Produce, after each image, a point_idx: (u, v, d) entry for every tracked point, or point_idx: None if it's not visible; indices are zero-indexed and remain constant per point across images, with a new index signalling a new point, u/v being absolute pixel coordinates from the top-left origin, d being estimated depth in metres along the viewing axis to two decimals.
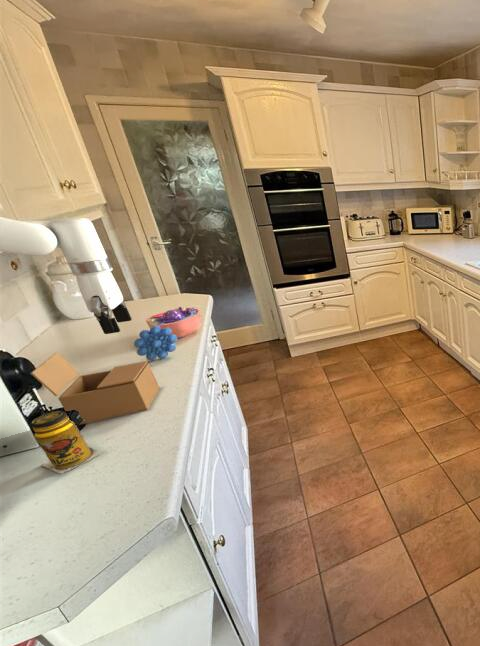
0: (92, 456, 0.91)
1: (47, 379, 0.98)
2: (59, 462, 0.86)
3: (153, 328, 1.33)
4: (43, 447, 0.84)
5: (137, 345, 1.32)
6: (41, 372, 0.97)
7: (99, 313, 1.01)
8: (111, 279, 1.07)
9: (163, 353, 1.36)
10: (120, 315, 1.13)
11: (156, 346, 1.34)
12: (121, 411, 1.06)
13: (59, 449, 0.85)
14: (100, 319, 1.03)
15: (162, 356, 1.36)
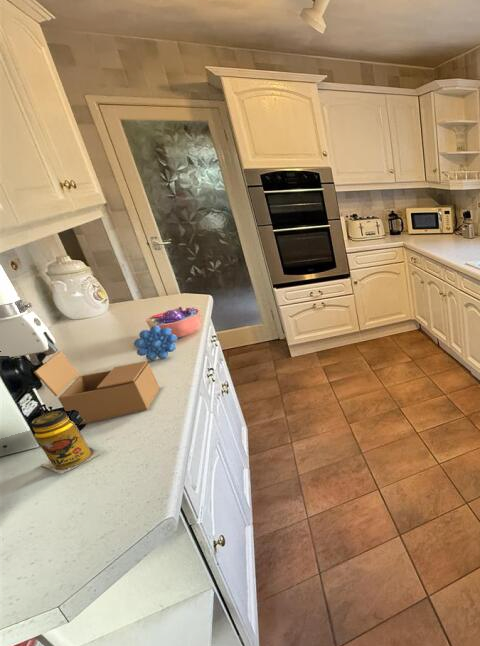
0: (92, 456, 0.91)
1: (49, 378, 0.98)
2: (59, 462, 0.86)
3: (153, 328, 1.33)
4: (43, 447, 0.84)
5: (137, 345, 1.32)
6: (44, 371, 0.97)
7: None
8: (9, 329, 0.93)
9: (163, 353, 1.36)
10: None
11: (156, 346, 1.34)
12: (121, 411, 1.06)
13: (59, 449, 0.85)
14: None
15: (162, 356, 1.36)
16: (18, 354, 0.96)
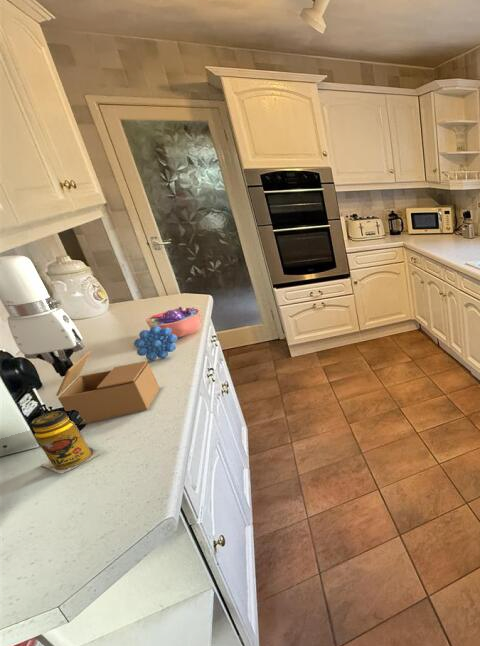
0: (92, 456, 0.91)
1: (68, 378, 1.00)
2: (59, 462, 0.86)
3: (153, 328, 1.33)
4: (43, 447, 0.84)
5: (137, 345, 1.32)
6: (71, 371, 1.00)
7: None
8: (40, 325, 0.95)
9: (163, 353, 1.36)
10: None
11: (156, 346, 1.34)
12: (121, 411, 1.06)
13: (59, 449, 0.85)
14: None
15: (162, 356, 1.36)
16: (47, 350, 0.98)
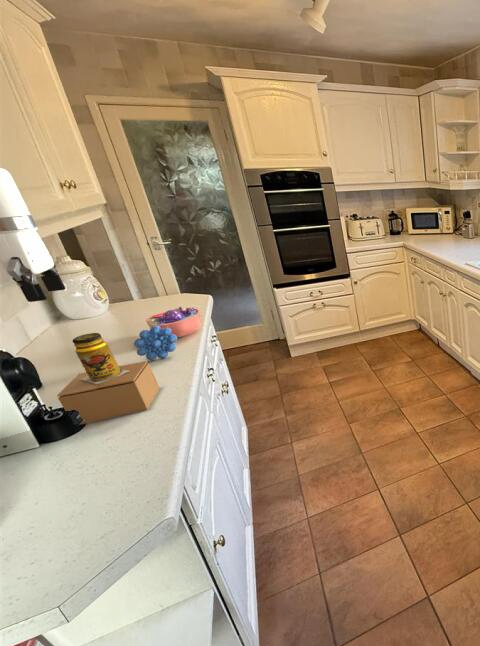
0: (121, 373, 1.08)
1: None
2: (96, 375, 1.03)
3: (153, 328, 1.33)
4: (82, 361, 1.01)
5: (137, 345, 1.32)
6: None
7: (18, 277, 0.89)
8: (36, 240, 0.94)
9: (163, 353, 1.36)
10: (51, 283, 1.01)
11: (156, 346, 1.34)
12: (121, 411, 1.06)
13: (96, 363, 1.02)
14: (21, 285, 0.91)
15: (162, 356, 1.36)
16: (45, 269, 0.96)
